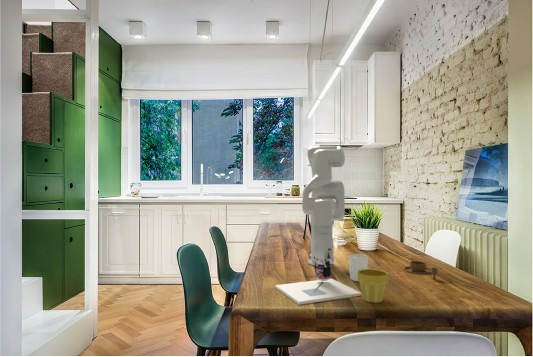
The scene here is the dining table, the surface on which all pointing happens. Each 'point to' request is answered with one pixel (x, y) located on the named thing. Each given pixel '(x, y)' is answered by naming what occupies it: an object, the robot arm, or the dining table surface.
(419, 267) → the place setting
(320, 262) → the pill bottle
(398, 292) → the dining table surface
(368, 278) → the plant pot
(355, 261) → the white cup
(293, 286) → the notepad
